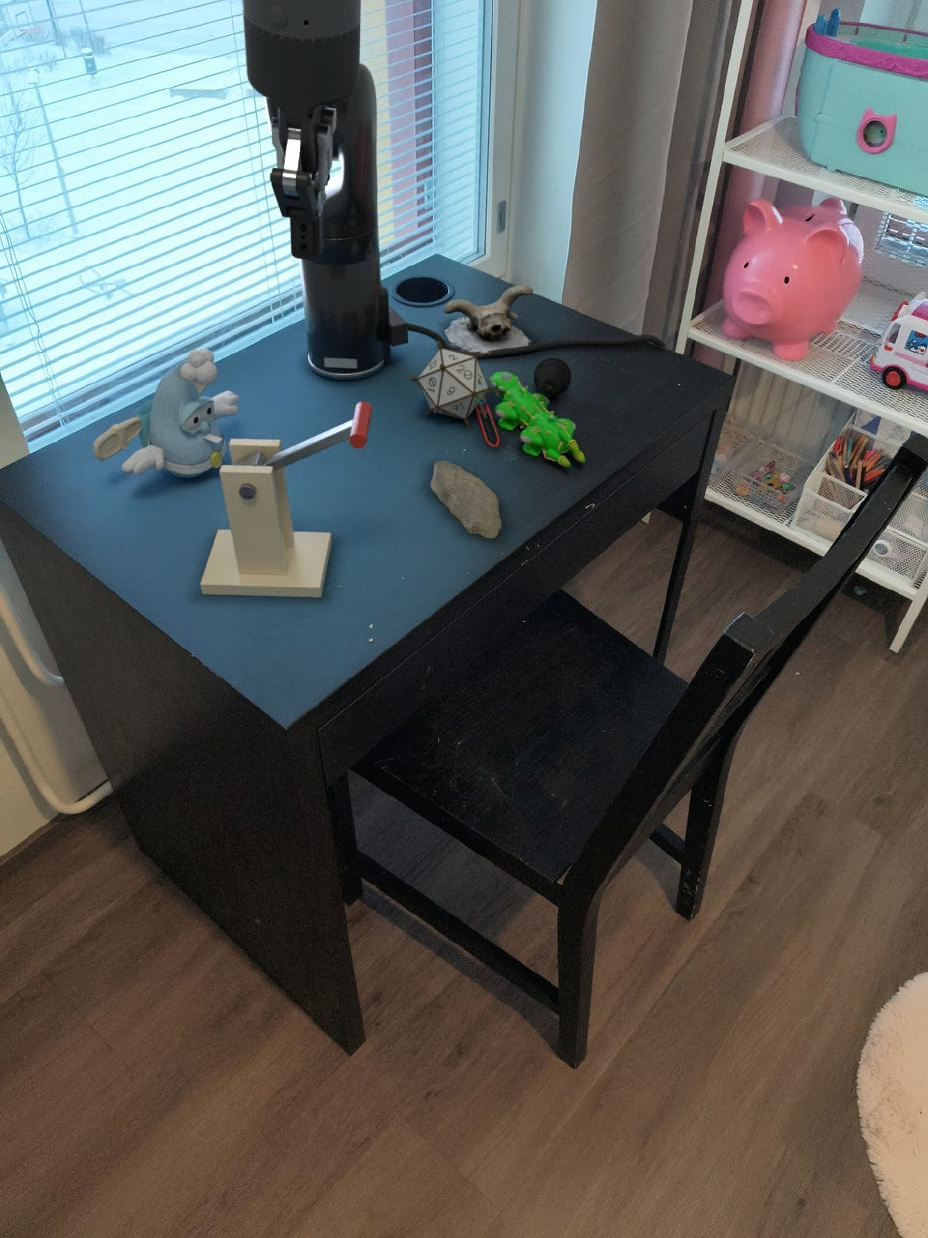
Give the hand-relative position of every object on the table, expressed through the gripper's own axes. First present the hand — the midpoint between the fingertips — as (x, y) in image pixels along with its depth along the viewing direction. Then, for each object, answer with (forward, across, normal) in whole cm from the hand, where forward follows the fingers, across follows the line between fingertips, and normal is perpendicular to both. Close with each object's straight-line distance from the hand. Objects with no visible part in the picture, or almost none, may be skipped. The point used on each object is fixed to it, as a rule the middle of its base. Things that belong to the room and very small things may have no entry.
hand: (307, 253), depth 77 cm
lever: (+16, -6, -1) cm, 17 cm away
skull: (+32, +38, -16) cm, 52 cm away
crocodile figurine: (+29, +17, -22) cm, 40 cm away
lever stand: (+29, -8, +3) cm, 30 cm away
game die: (+30, +20, -13) cm, 39 cm away
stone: (+27, +3, -13) cm, 30 cm away
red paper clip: (+29, +21, -16) cm, 39 cm away
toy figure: (+32, +7, +14) cm, 35 cm away
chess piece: (+28, +27, -24) cm, 45 cm away
